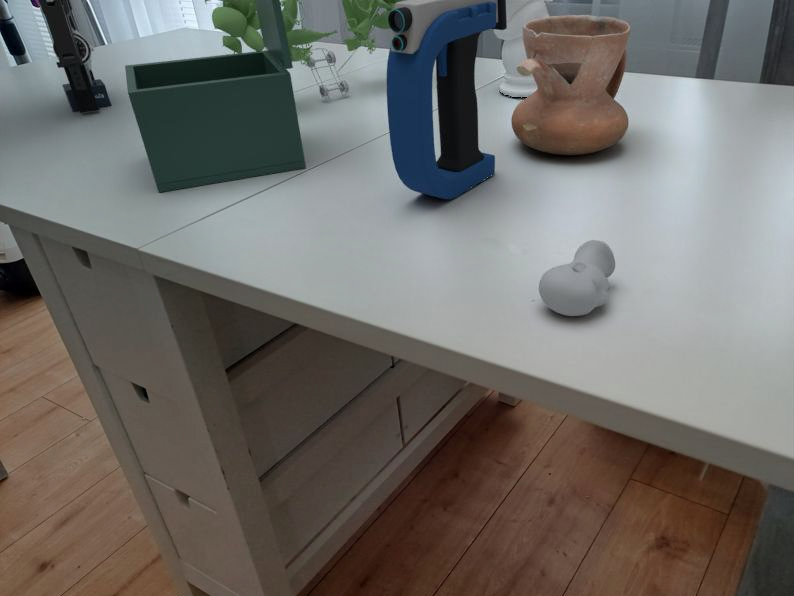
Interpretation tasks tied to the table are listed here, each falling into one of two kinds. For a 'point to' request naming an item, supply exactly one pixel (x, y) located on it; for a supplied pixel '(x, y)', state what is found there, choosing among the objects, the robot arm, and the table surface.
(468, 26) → the handheld scanner
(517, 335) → the table surface
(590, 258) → the smooth white sculpture
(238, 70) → the dark green hollow box
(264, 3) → the lid
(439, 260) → the table surface
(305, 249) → the table surface
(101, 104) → the watch
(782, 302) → the table surface
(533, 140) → the ceramic jug
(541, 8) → the cherub figurine
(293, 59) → the plant cuttings
